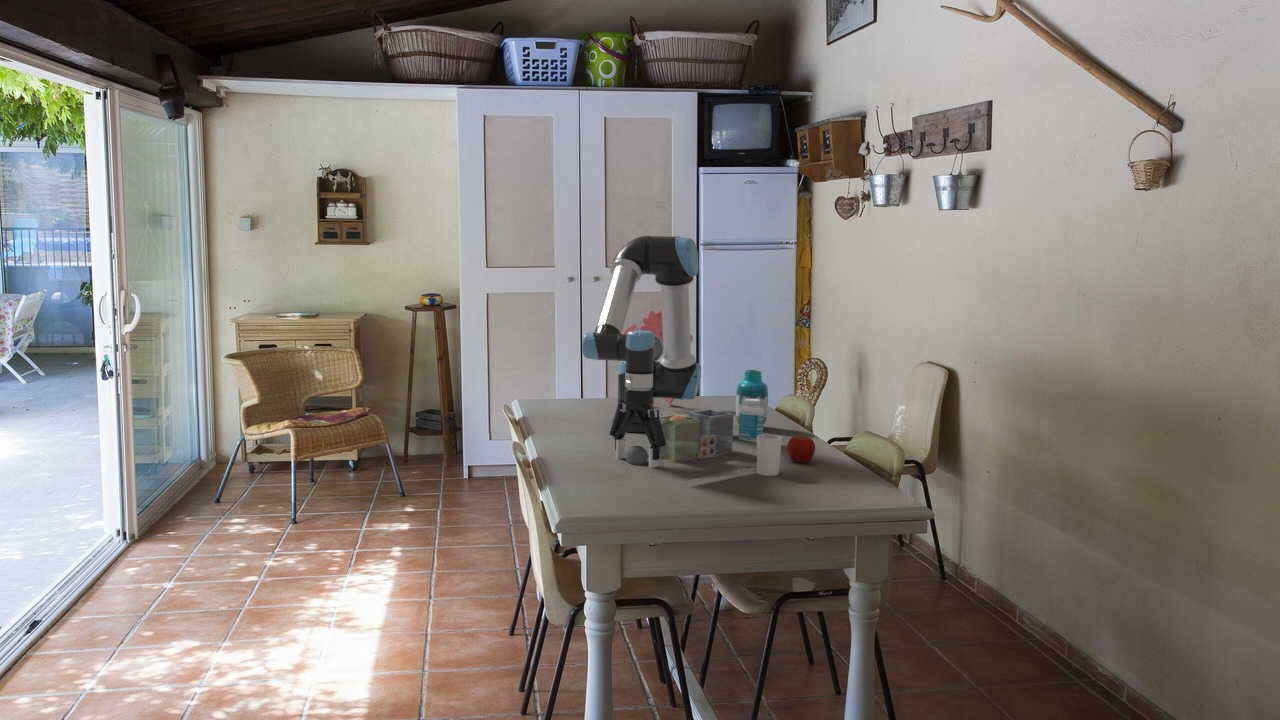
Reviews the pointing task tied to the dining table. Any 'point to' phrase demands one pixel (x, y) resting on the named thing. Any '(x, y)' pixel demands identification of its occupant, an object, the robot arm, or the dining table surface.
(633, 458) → the loose charcoal ball
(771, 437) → the drinking glass
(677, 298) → the robot arm
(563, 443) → the dining table surface
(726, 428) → the rack
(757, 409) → the pill bottle
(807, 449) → the apple
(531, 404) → the dining table surface
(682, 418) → the loose terracotta ball
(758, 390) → the vase
